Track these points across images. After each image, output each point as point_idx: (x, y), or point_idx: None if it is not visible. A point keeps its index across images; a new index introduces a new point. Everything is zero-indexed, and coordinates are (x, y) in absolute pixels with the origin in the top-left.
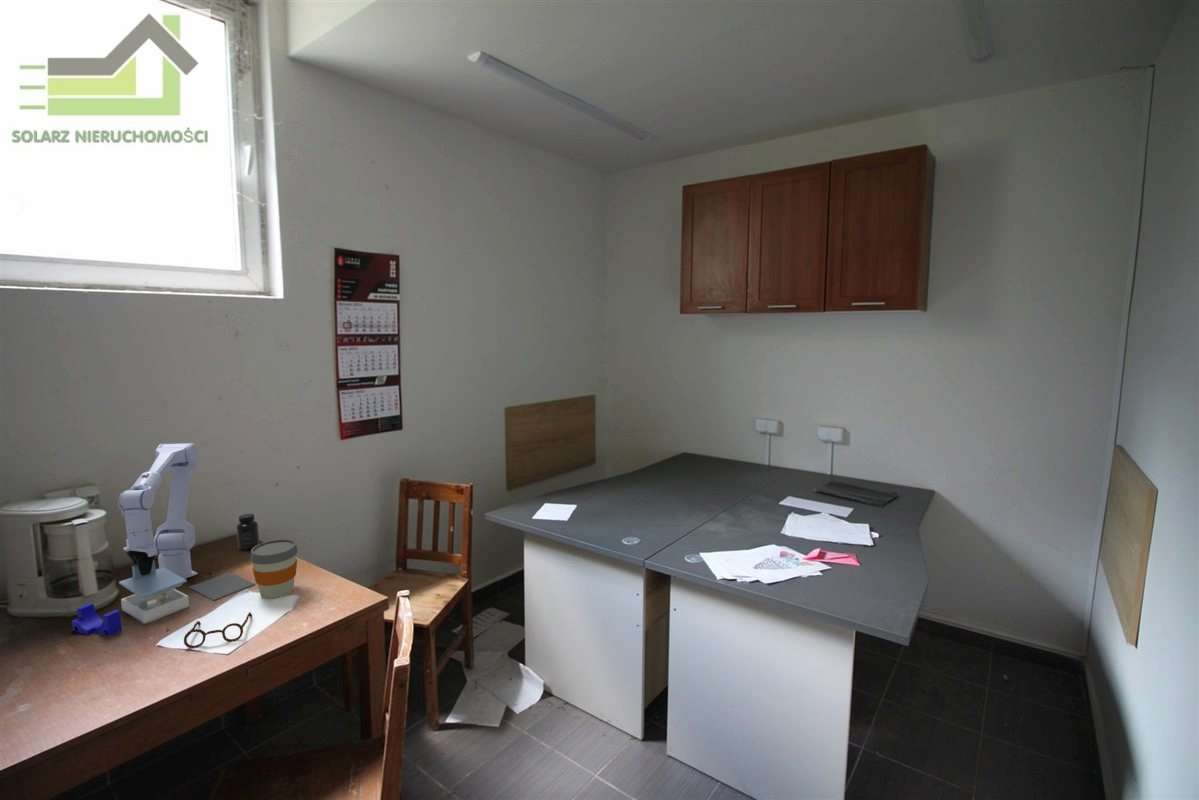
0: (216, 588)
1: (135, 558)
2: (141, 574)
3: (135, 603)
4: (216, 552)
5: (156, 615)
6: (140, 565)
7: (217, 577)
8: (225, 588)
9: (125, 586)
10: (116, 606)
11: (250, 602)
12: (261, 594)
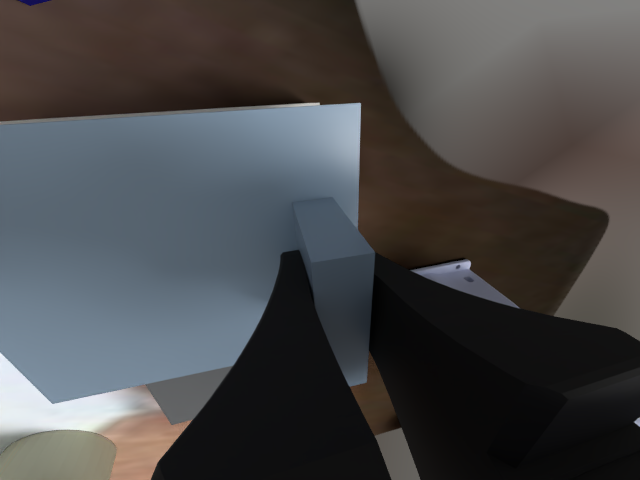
0: None
1: (201, 456)
2: (288, 254)
3: None
4: None
5: None
6: (258, 323)
7: None
8: (199, 375)
9: (226, 111)
10: (367, 100)
11: (22, 412)
12: (26, 449)
